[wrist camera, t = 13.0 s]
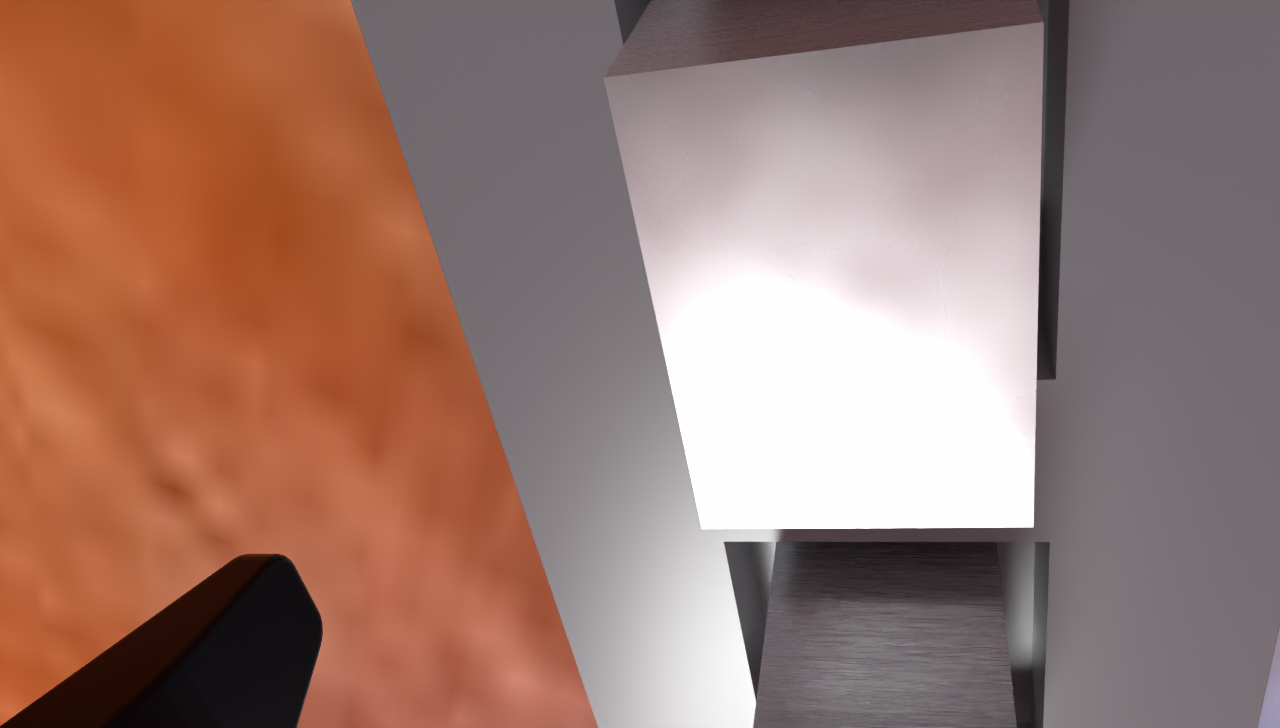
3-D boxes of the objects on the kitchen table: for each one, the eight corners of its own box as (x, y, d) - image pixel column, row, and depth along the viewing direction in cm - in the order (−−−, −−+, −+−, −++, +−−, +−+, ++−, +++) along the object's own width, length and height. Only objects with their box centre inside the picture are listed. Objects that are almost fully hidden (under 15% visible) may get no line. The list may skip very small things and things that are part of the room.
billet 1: (994, 270, 17) (1033, 527, 12) (752, 285, 18) (702, 529, 13) (991, -122, 14) (1044, 21, 9) (696, -74, 15) (603, 77, 10)
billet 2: (781, 499, 21) (749, 762, 16) (991, 496, 20) (1023, 779, 15) (811, 691, 24) (791, 957, 19) (992, 698, 23) (1018, 981, 18)
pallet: (380, -218, 15) (286, -187, 13) (1389, -438, 12) (1514, -448, 10) (652, 714, 28) (629, 818, 25) (1194, 739, 24) (1227, 863, 22)
